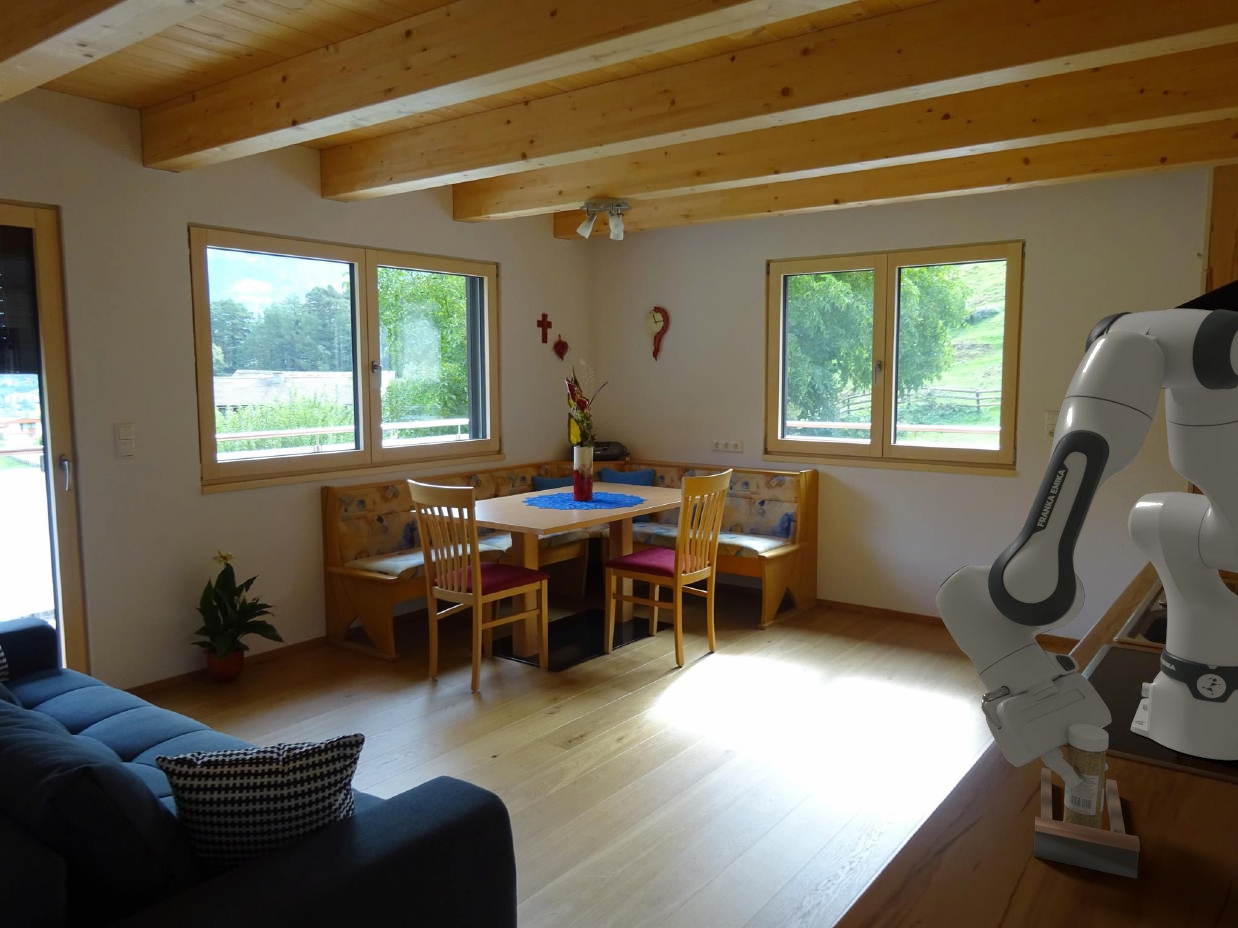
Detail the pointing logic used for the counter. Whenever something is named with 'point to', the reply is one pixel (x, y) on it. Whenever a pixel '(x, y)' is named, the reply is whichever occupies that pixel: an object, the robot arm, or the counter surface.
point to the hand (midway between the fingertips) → (1090, 778)
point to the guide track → (1086, 837)
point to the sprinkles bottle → (1086, 775)
